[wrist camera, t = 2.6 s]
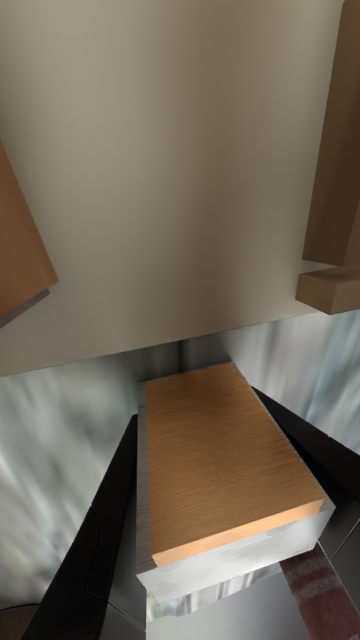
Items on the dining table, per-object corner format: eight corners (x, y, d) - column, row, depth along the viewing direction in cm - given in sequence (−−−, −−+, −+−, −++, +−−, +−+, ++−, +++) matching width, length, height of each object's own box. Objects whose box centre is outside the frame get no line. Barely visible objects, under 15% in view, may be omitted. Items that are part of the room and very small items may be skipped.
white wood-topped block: (232, 400, 11) (313, 549, 6) (149, 420, 11) (159, 605, 6) (232, 348, 10) (343, 491, 4) (134, 369, 9) (126, 563, 4)
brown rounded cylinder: (274, 546, 26) (401, 845, 13) (317, 530, 26) (478, 803, 14) (273, 560, 28) (376, 818, 16) (311, 545, 29) (441, 784, 16)
